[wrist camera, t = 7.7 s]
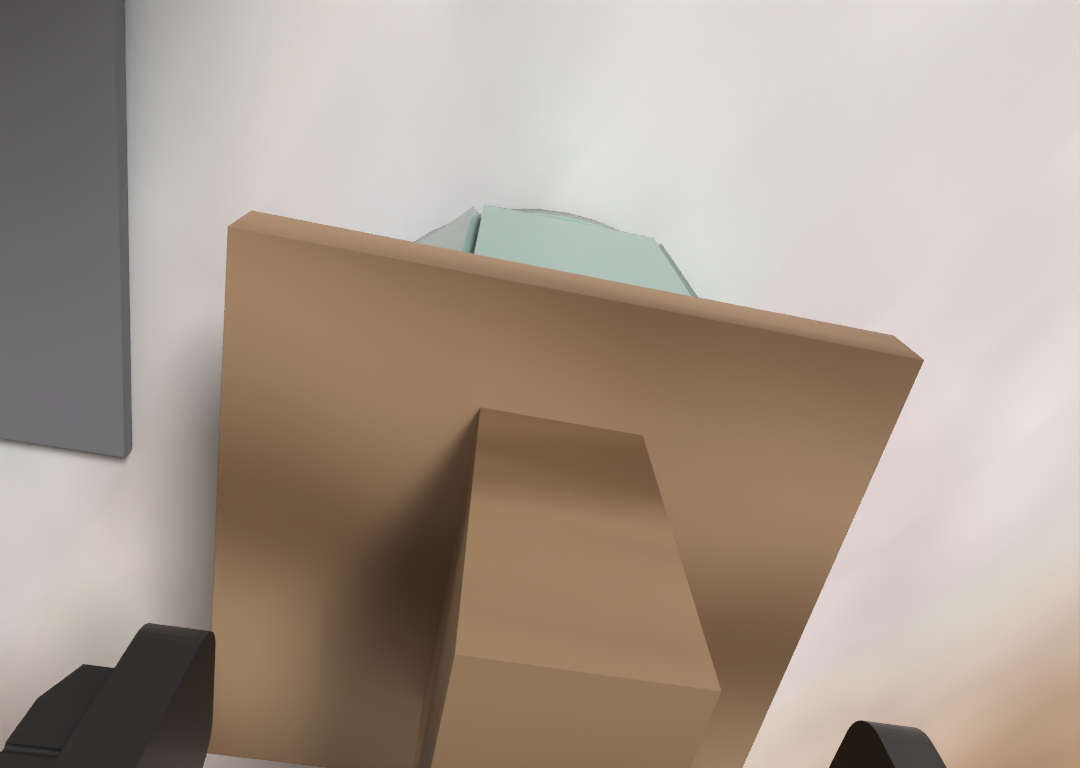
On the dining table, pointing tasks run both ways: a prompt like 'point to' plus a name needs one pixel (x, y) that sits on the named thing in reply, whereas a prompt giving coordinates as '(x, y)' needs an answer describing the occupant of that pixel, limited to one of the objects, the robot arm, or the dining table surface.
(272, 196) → the dining table surface
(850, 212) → the dining table surface
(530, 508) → the lid
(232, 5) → the dining table surface
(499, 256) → the bowl
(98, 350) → the mat
